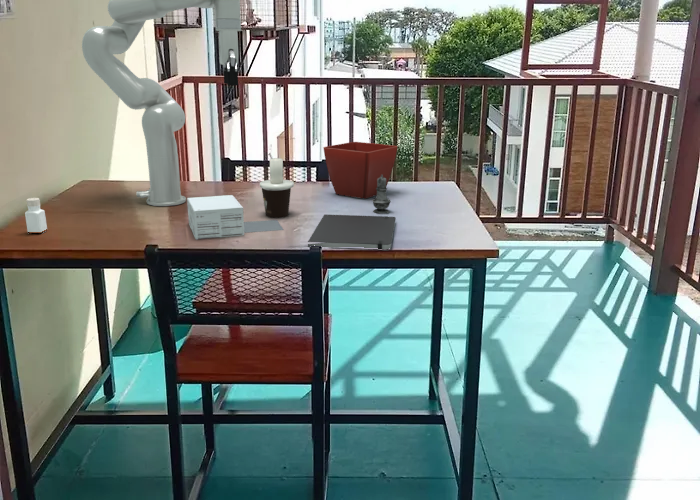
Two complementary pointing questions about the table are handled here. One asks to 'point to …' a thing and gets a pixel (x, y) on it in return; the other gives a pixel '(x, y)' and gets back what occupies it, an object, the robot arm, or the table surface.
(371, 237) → the notebook
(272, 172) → the lid
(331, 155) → the plant pot
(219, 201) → the supplement box
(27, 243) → the table surface
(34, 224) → the salt shaker
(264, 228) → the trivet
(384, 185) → the grey stone figurine
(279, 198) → the coffee mug
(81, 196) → the table surface
